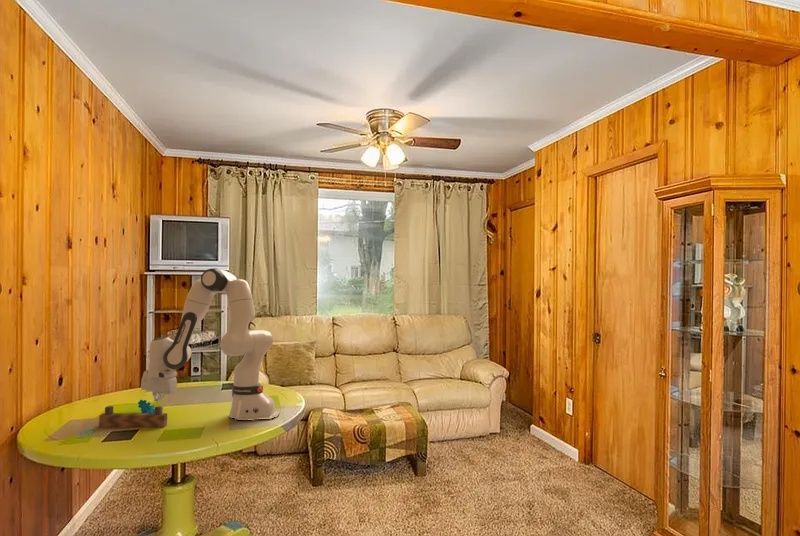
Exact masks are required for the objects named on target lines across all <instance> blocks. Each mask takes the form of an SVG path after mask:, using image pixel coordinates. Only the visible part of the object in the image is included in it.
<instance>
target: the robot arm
mask: <svg viewBox="0 0 800 536" xmlns="http://www.w3.org/2000/svg"><path fill="white" fill-rule="evenodd" d="M189 289H190V290H188V293H187V296H186V299H185V301H184V305H183V309H182V315H181V320H180V324H179V327H178V329H177V332H176V335H175V336H174V339H172V338H170V337H169V336H161V337H156V338H154V339H152V340H151V342H150V343H149V349H148V350H149V351H148V358H149V362H148V367H147V369H146V370H144V371H143V373H142V377H141V382H140V389H141V390H142V391H147V392H152V393H151V394H152V396H153V401H154V402H158V403H160V402H162V399H163V396H164V395H165V394H166V395H172V394H175V393H176V392H177V388H178V381H177V375H178V372H177V371H176V370H179V369H181V368H183V367H184V366H185V365H186V363H187V362H188V361H189V360H190V358H191V357H192V355H193V354H192V353H193V351H192V349H191V347H190V345H189V343H190V340H191V338H192V335H193V333H194V331H195V329H196V327H197V325H198V324H200V323H201V322H202V320H204V319H205V316H206V315H207V313H208V311H209V309H210V306H211V303H212V301H213V298H214V296H216V294H218V295H226V297H227V302H228V308H229V316H230V317H229V318H230V320H229V321H230V322H229V327H228V329H227V331H226V332H225V334H224V335H223V336H222V338H221V340H220V343H219V344H220V345H219V347H220V349H221V352H222V353H223V354H224V355H225V356H231V357H239V356H243V357H242V359H241V361H240V362H239V363H237V364H236V366H235V367H234V369H233V384H232V387H231V395H232V396H231V397H232V400H231V407H230V410H229V414H228V418H230V417H231V418H230V419H232V418H235V419H234V420H236V419H237V420H248V419H257V418H258V419H259V418H270V417H274V416H272V415H278V414H279V411H280V410H279V411H276V410H275V409H276V405H275V404H276V403H275V400H274V399H273V398H271V397H270V396H269V395H267V394H266V393H265V392H263V391H264V385H263V384H260V383H259V382H260V368H261V364H262V361H263V359H264V357H265V355H266V354H267V352H268V351H269V350H270V349H271V348H272V347H273V343H274V340H273V339H274V338H273V336H272V333H271V332H269V330H266V329H265V330H263V329H251V330H250V329H249V324H250V323H251V322H252V321H253V320H254V318H255V317H256V308H255V305H254V304H255V303H254V299H253V294H252V291H251V287H250V285H249V283H248V281H247V280H245V279H242V278H239V277H238V276H237V275H236V274H235V273H233V272H229V271H227V270H225V269H220V268H217V267H215V268H208V269H206V270H204V272H203V273H202V274H201V277H200V279H196V280H195V281H194V282H193V283H192V285H191V286H190V288H189ZM279 415H280V414H279ZM237 420H236V421H237Z"/></svg>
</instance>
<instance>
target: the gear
mask: <svg viewBox="0 0 800 536" xmlns="http://www.w3.org/2000/svg"><path fill="white" fill-rule="evenodd" d="M137 404H138V406H137V407H138V408H139V409H140V412H141V413H154V412H155V407H156V405H155V404H152V405H151V402H150V401H148V402H147V400H145V399H139V401H138V402H137Z"/></svg>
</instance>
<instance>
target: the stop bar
mask: <svg viewBox="0 0 800 536" xmlns="http://www.w3.org/2000/svg"><path fill="white" fill-rule="evenodd" d="M154 407H155V408H154V409H155V412H154V413H142V412H141V413H138V412H135V413H134V412H131V413H130V412H125V413H121V412H120V413H119V412H117V413H115V412H114V405H108V406H105V407H104V413H102V414H101V413H100V415H99V418H98V419H99V420H98V428H165V427H166V426H167V425H168V413H164V411H163V410H164V409H163V408H164V407H163V405H162V406H161V405H159V406H154Z"/></svg>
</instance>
